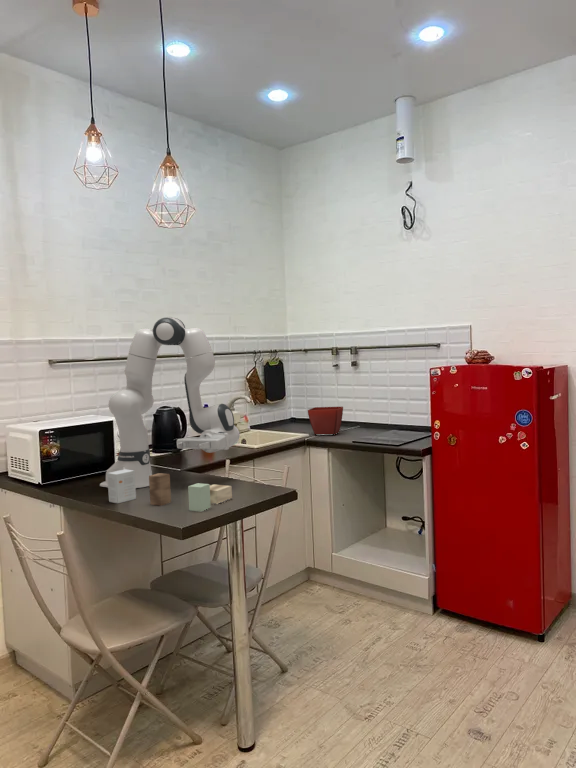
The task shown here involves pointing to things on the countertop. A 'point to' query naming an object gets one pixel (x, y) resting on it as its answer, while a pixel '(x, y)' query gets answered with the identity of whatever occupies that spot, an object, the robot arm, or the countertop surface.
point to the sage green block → (199, 497)
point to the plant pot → (325, 419)
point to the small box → (121, 486)
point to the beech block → (220, 493)
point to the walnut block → (159, 489)
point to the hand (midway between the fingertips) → (188, 446)
